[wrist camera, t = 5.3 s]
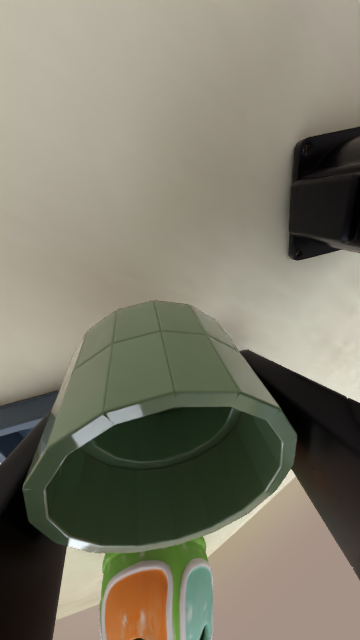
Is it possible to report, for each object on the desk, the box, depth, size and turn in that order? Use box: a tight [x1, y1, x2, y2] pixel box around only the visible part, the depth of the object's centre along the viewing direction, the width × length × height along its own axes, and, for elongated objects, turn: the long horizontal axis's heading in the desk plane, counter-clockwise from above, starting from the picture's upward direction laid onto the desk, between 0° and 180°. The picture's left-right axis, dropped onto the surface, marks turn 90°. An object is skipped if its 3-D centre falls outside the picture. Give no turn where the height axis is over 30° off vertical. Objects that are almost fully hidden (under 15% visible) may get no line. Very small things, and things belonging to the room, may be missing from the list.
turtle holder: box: [99, 536, 214, 640], centre depth 26 cm, size 12×18×12 cm
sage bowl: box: [22, 301, 298, 553], centre depth 7 cm, size 6×6×4 cm
